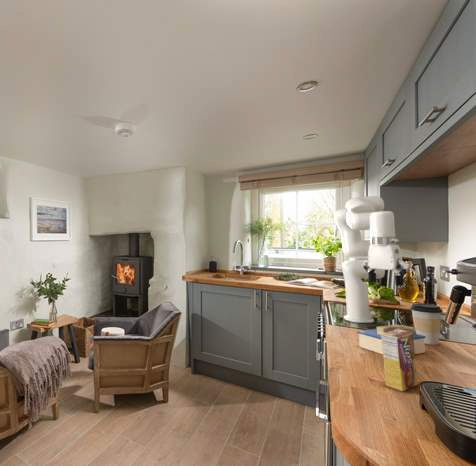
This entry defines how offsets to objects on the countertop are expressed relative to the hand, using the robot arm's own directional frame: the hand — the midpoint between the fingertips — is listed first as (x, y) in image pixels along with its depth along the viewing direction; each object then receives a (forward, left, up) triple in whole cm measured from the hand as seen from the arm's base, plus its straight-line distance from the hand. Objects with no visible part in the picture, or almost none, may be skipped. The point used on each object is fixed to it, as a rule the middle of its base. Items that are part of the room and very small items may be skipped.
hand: (385, 283), depth 117 cm
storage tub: (+4, +3, -25) cm, 25 cm away
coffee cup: (-18, +2, -25) cm, 31 cm away
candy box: (+32, +24, -25) cm, 47 cm away
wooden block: (+2, +3, -19) cm, 19 cm away
